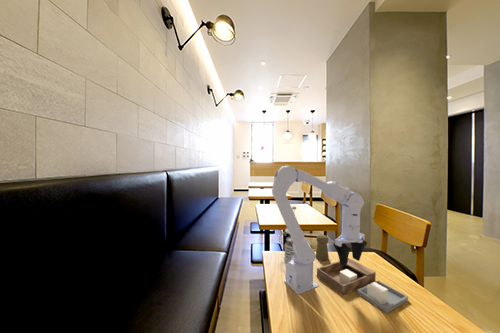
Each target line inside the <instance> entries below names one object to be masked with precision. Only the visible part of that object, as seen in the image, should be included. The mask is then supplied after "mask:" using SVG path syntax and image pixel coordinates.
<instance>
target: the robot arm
mask: <svg viewBox="0 0 500 333" xmlns="http://www.w3.org/2000/svg"><path fill="white" fill-rule="evenodd" d="M302 182H304V183H305V184H308V185H310V186H312V187H314V188H317V189H320V190H321V192H322V194H323V195H324V196H325V197H327V198H329V199H331V200H333V201H335V202H338V203H340V204H341V205H342V208H341V209H342V210H341V211H342V212H341V214H342V215H341V234H340V235H339V236H338V237H337V238H334V242H333V246H334V248H335V250H336V253H337V255H338V260H340V263H341V264H342V265H344V266H347V262H348V258H349V255H350V252H351V253H352V254H351V255H352V260H355V261H358V262H359V261H360V260H361V256H362V254H363V251H364V249H365V247H366V246H367V245H368V242H367V241H365V239H366V238H365V237H366V236H365V235H366V234H364V233H362V232H360V231H361V227H360V226H361V210H362V208H363V207H364V204H365V200H364V199H363V196H362V195H361V194H360V193H358V192H354V191H352V190H351V188H349V187H345V186H342V185H340V184H339V182H338V181H334V180H333V181H328V182H325V181H323V180H321V179H320V178H318V177H316V176H314V175H312V174H310V173H309V172H306V171H305V170H302V169H298V168H295V167H293V166H290V165H282V166H280V167H278V168H277V170H276V172H275V173H274V179H273V184H272V188H271V193H272V197H273V198H274V200H275V203H276V206H277V208H278V211H279V212H280V215H281V218H282V219H283V221H284V224H285V226H286V229H288V231H289V233H290V234H289V237H291V238H292V241H293V243H291V244H292V245H291V246H293V249H294V251H295V253H294V255H293V259H292V260H291V261H290V262H288V263H286V264H285V279H284V283H285V284H287V285H288V286H289V287H290V288H291V289H292V290H293V291H294V292H295V293H296V294H298V295H300V294H303V293H306V292H307V291H310V290H314V289H316V288H318V287H319V285H318V284H317V283H316V282H314V261H315V260H316V257H315V256H316V251H314V249H313V248H312V247H311V245H310V243H309V241H308V239H306V238H305V235H304V233H302V231H303V230H302V229H301V227H300V224H299V221H298V219H297V217H296V214H295V211H294V209H292V207H293V206H292V205H291V203H290V201H289V199H288V196H287V192H288V190H289V189H290V187H291V186H292V185H293V184H294V183H302ZM301 230H302V231H301ZM349 243H350V245H351V247H348V246H347V244H349Z"/></svg>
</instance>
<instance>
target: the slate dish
mask: <svg viewBox="0 0 500 333" xmlns="http://www.w3.org/2000/svg"><path fill="white" fill-rule="evenodd" d="M375 282H376V283H377V284H379V285H381V286H383V287H385V288H386V289H388V302H386V303H385V304H383V305H382V304H380V303H379V302H377V301H376V300H374V299H373V298H371V297H369V296H368V295H367V285H366V286H363V287H361V288H359V289H357V295H358V296H360V297H361V298H363V299H364V300H366V301H367V302H369V303H370V304H372V305H373V306H375V307H377V308H378V309H379V310H381V311H382V312H384V313H385V314H389V313H390V312H392V311H394V310H395V309H397V308H398V307H401V306H402V305H403V304H405V303H407V302H408V301H409V296H407V295H406V294H404V293H402V292H401V291H398V290H397V289H395V288H393V287H391V286H389V285H387V284H386V283H383V282H382V281H380V280H375Z"/></svg>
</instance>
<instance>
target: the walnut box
mask: <svg viewBox="0 0 500 333" xmlns="http://www.w3.org/2000/svg"><path fill="white" fill-rule="evenodd" d="M338 260H339V259H338ZM345 269H348V270H349V271H351V272H353V273H355V274H357V279H356V280H354V281H351V282H349V283H346V284H344V285H343V284H341V283H340V271H343V270H345ZM376 276H377V274H376V271H375V270H374V269H371V268H369V267H367V266H365V265H363V264H362V263H359V262H357V261H356V260H354V259H351V258H350V257H348V262H347V266H344V265H342V264H341V263H340V260H339V261H335V262H333V263H330V264H326V265H323V266H320V267H317V268H316V277H317V278H319V279H320V280H321V281H323V282H324V283H326V284H327V285H329V286H330V287H331V288H332V289H334V290H335V291H337V292H338V293H339V294H341V295H342V296H345V295H347V294H350V293H352V292H354V291H356V290H358V289H360V288H363V287H365V286H367V285H369V284H371V283H373V282H376Z"/></svg>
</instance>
